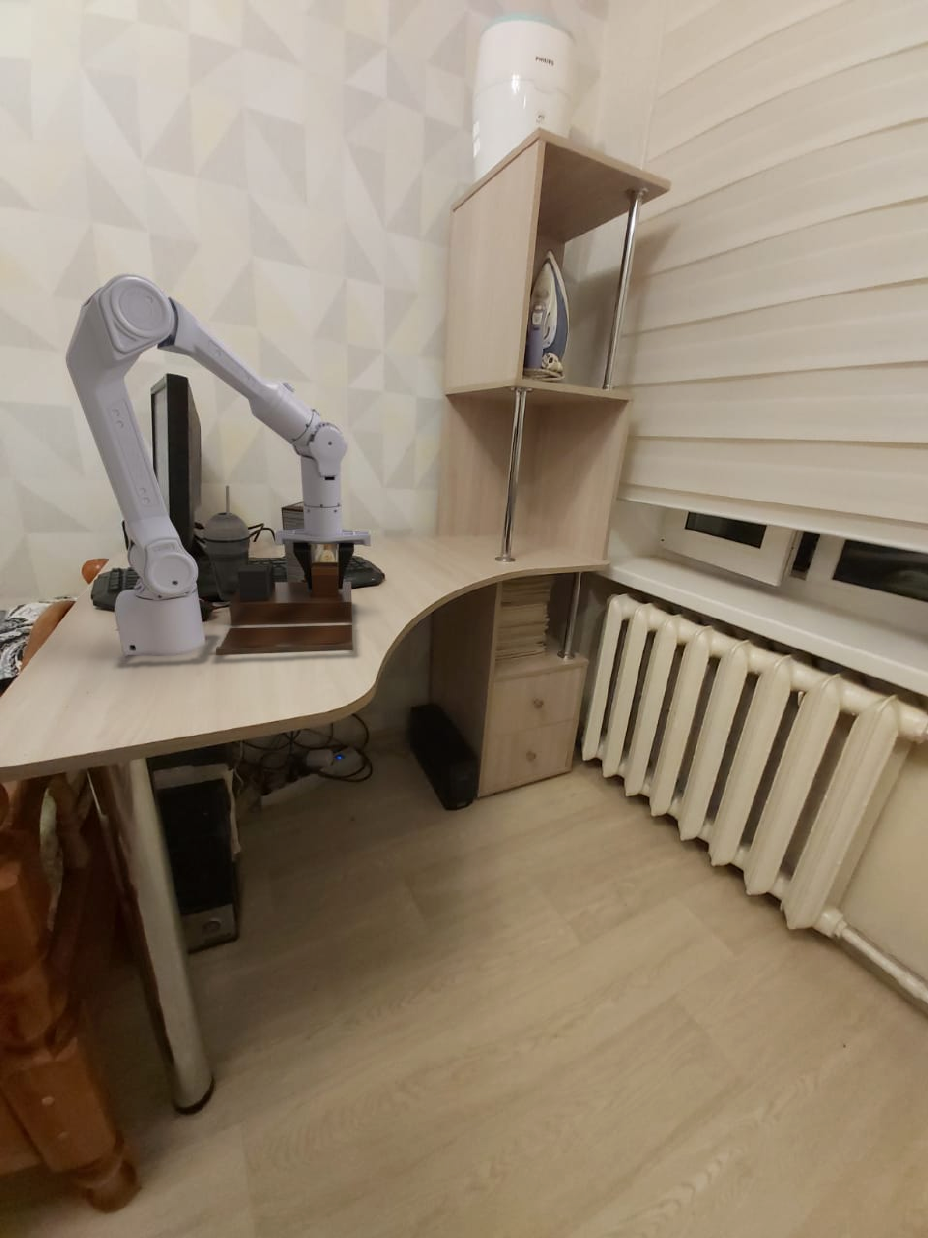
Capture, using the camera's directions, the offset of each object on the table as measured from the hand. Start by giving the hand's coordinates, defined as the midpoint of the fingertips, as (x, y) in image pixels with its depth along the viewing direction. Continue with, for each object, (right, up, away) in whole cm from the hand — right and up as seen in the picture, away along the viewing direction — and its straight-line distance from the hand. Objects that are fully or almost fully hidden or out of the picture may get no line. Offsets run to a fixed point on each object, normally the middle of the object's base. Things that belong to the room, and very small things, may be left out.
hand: (326, 587), depth 82 cm
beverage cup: (-18, -2, +6) cm, 19 cm away
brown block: (0, 0, +1) cm, 1 cm away
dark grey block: (-10, -1, -2) cm, 11 cm away
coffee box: (-6, +1, +15) cm, 16 cm away
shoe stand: (-4, -7, -5) cm, 9 cm away
